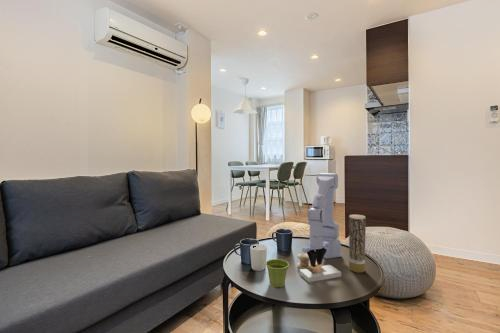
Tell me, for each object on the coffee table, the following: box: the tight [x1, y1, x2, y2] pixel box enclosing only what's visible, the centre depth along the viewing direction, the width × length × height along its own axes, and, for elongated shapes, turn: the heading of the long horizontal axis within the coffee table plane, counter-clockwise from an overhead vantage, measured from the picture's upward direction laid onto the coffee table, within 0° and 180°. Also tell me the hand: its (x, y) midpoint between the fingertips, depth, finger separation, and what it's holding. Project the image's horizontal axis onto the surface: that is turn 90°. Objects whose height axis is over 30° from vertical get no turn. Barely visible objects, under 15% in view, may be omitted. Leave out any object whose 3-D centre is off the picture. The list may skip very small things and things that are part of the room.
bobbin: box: [296, 252, 310, 271], centre depth 122 cm, size 7×7×5 cm
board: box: [299, 264, 342, 283], centre depth 114 cm, size 16×8×2 cm, turn 108°
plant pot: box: [266, 258, 290, 288], centre depth 106 cm, size 9×9×9 cm
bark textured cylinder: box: [348, 214, 367, 274], centre depth 118 cm, size 7×7×25 cm
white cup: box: [249, 243, 268, 272], centre depth 121 cm, size 8×8×10 cm
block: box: [309, 261, 323, 274], centre depth 115 cm, size 3×4×5 cm
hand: (316, 265), depth 114 cm, fingers closed on block, 3 cm apart
